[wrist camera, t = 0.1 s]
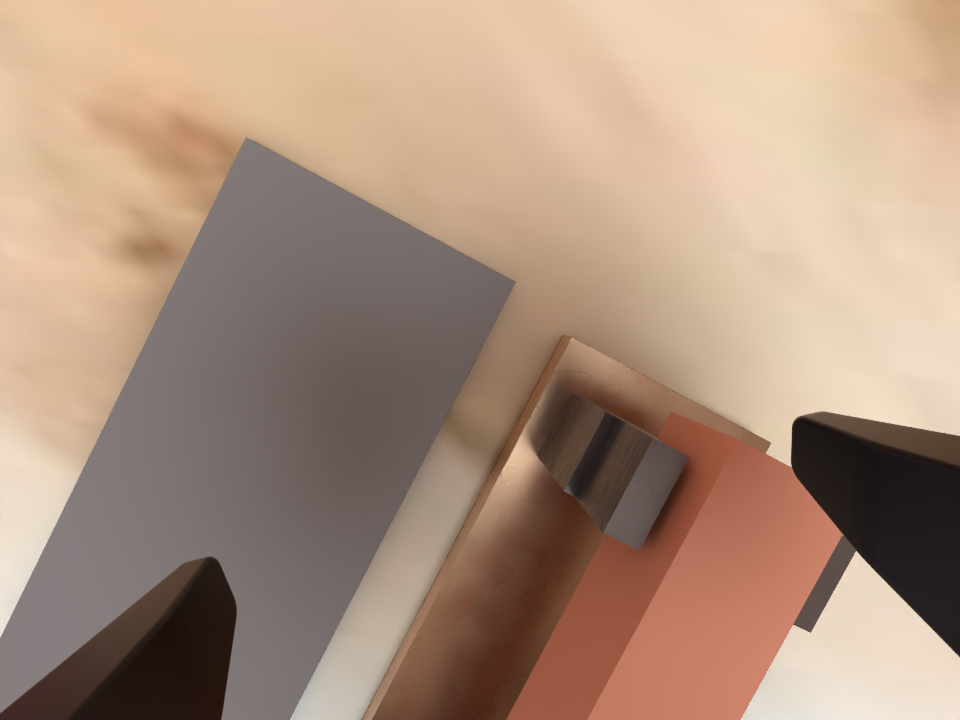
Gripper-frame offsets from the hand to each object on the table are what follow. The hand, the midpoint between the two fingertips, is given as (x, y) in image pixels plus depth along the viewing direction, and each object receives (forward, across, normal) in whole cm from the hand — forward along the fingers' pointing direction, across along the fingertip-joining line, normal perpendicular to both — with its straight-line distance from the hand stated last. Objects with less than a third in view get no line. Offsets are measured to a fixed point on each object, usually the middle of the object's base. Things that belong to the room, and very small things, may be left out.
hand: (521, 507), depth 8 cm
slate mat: (+14, +11, +8) cm, 19 cm away
